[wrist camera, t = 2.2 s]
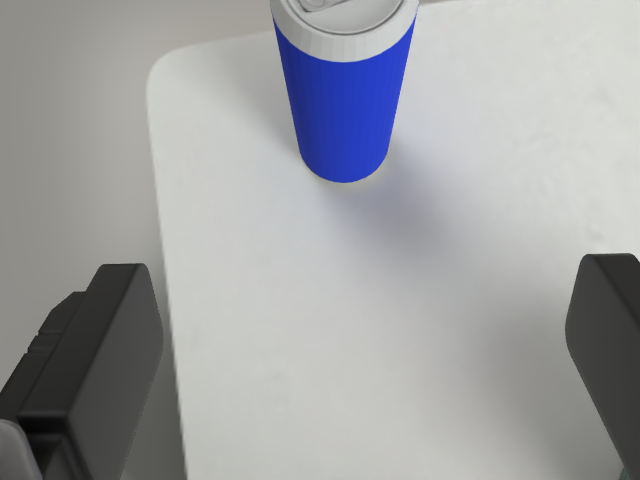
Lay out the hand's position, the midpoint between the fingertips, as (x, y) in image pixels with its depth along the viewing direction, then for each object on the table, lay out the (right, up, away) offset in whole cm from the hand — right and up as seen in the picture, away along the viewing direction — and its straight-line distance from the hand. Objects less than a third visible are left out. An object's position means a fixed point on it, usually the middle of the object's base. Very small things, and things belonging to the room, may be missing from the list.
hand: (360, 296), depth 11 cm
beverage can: (+1, +7, +23) cm, 24 cm away
